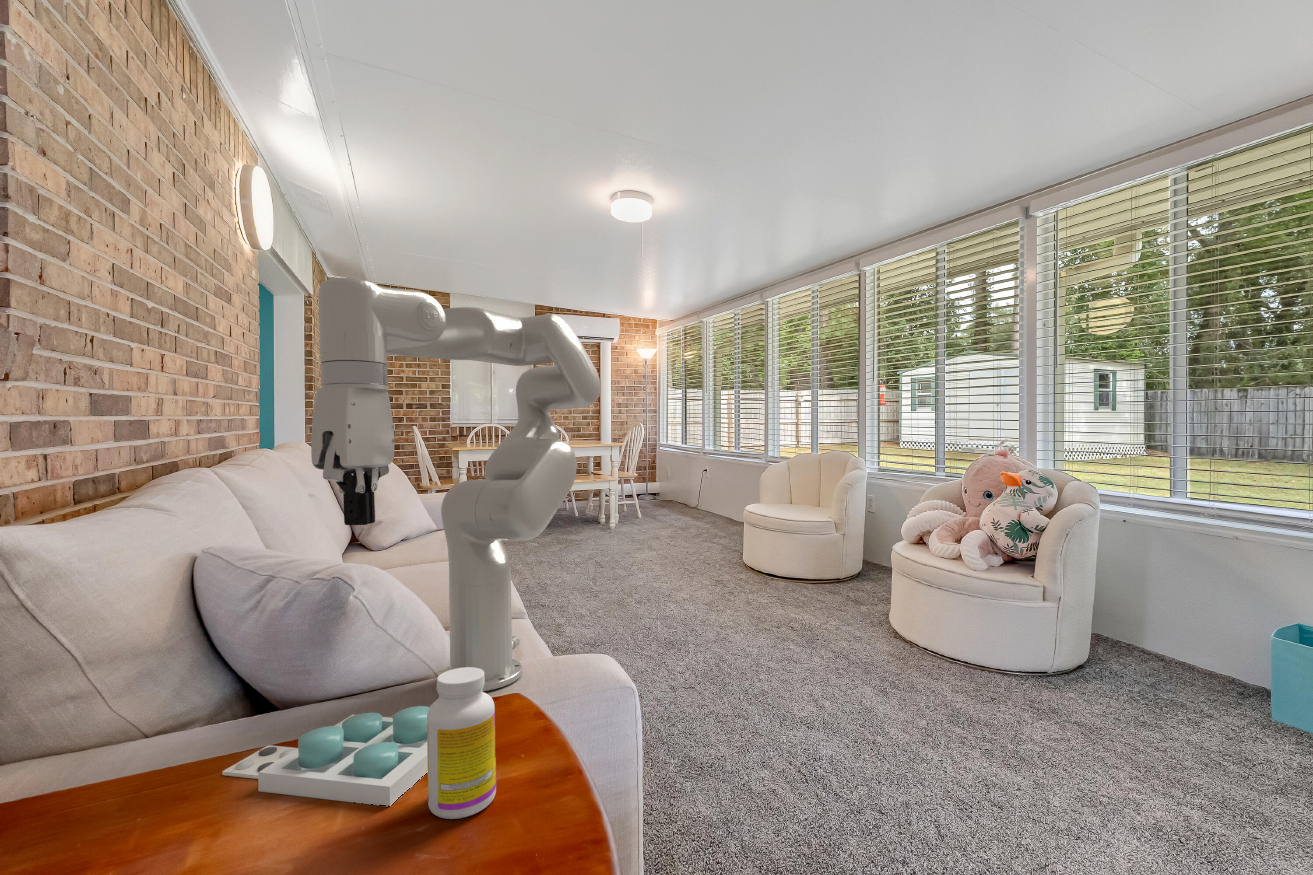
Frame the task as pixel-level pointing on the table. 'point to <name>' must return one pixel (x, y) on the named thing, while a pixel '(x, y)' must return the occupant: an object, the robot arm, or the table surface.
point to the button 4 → (410, 725)
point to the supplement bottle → (461, 745)
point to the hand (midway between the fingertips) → (359, 523)
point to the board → (348, 774)
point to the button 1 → (320, 747)
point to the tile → (257, 762)
